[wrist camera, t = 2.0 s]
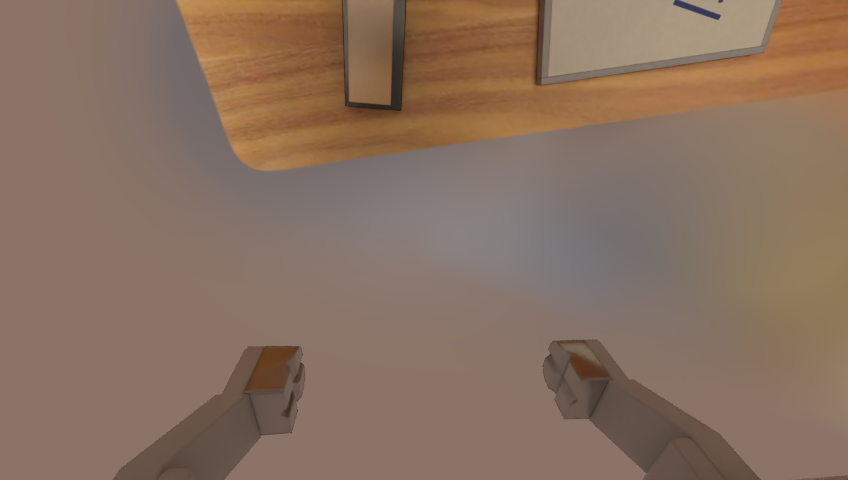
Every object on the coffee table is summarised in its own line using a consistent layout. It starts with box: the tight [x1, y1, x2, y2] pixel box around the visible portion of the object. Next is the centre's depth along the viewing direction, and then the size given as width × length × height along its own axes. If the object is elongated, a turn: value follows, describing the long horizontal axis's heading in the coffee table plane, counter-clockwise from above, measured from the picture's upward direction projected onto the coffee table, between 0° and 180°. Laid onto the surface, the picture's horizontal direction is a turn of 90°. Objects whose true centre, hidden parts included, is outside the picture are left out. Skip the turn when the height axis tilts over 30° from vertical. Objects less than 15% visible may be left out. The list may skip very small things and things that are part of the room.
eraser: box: [342, 0, 406, 111], centre depth 25 cm, size 10×5×8 cm, turn 175°
